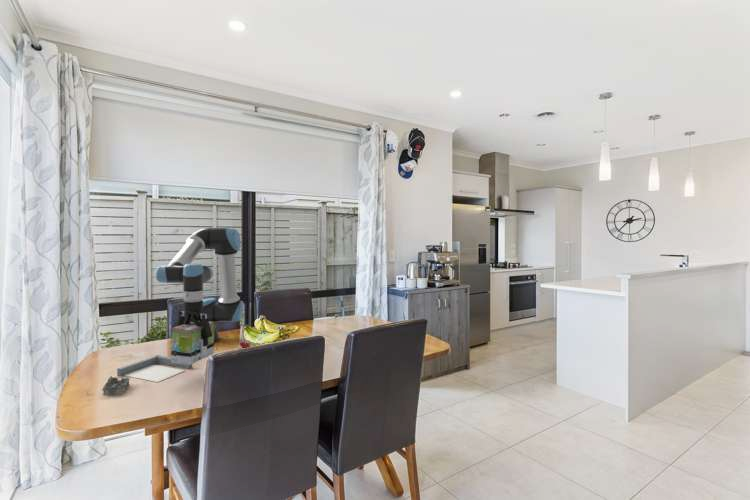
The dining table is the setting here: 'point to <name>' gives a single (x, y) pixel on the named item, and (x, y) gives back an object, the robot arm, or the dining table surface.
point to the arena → (152, 369)
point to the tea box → (189, 344)
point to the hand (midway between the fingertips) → (193, 351)
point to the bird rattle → (244, 345)
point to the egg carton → (115, 386)
